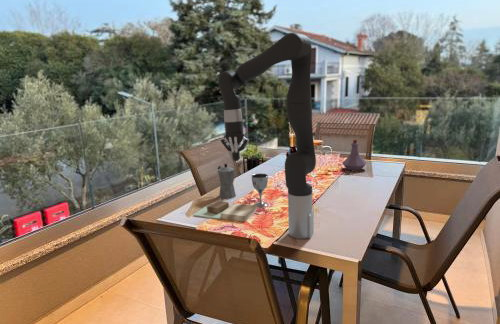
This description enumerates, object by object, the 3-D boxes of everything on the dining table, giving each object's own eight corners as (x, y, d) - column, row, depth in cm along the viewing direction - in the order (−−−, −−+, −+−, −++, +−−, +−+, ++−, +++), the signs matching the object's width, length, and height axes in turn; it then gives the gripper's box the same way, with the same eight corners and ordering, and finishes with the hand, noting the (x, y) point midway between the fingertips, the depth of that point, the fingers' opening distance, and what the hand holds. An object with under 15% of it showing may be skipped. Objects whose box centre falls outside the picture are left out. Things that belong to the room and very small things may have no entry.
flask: (350, 165, 237) (351, 137, 232) (372, 168, 224) (373, 139, 220) (336, 169, 227) (337, 140, 222) (358, 173, 214) (359, 142, 210)
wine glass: (271, 203, 168) (270, 174, 165) (264, 208, 162) (262, 178, 158) (257, 200, 172) (256, 172, 169) (249, 205, 166) (248, 176, 162)
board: (256, 210, 159) (256, 205, 159) (245, 221, 147) (245, 216, 146) (234, 207, 164) (233, 203, 163) (220, 218, 151) (220, 213, 151)
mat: (234, 207, 165) (234, 206, 165) (219, 219, 151) (219, 218, 150) (210, 204, 170) (209, 203, 170) (193, 216, 156) (193, 214, 156)
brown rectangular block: (228, 208, 162) (228, 202, 162) (217, 214, 155) (216, 208, 154) (219, 206, 165) (218, 200, 165) (207, 212, 158) (206, 206, 157)
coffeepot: (241, 197, 179) (239, 164, 175) (226, 201, 174) (223, 167, 170) (227, 190, 192) (225, 159, 188) (212, 193, 187) (210, 162, 183)
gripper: (215, 121, 139) (218, 162, 143) (244, 120, 134) (247, 162, 138) (223, 119, 146) (226, 158, 150) (251, 118, 141) (254, 159, 145)
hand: (236, 160), depth 144 cm, fingers closed
